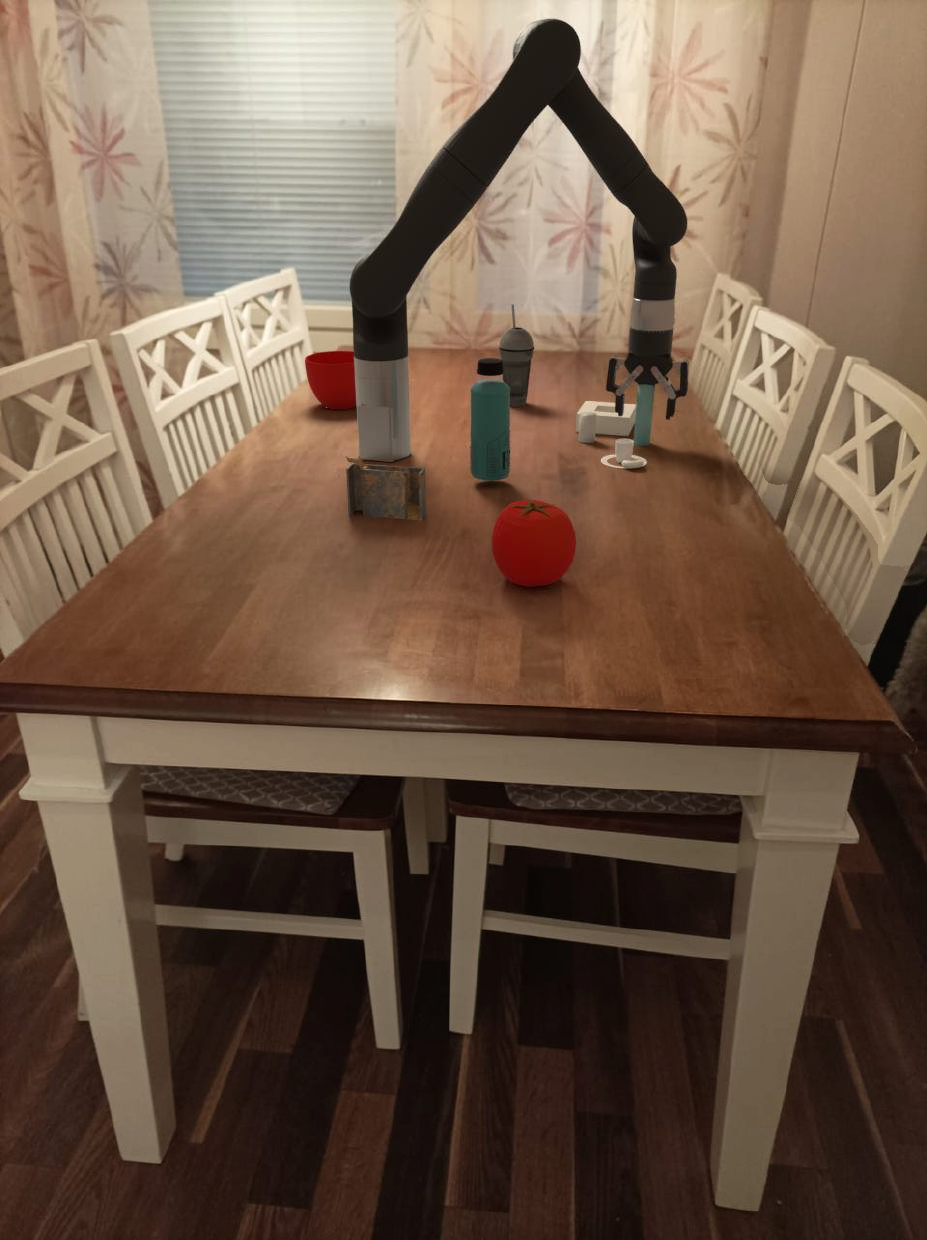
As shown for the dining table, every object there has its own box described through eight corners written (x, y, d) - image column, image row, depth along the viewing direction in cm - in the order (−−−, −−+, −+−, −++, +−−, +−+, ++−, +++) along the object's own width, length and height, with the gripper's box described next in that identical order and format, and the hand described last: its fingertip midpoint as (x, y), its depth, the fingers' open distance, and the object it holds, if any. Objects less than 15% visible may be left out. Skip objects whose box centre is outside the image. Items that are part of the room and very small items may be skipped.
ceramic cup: (386, 414, 195) (384, 364, 190) (303, 414, 195) (299, 364, 190) (392, 398, 206) (390, 350, 201) (313, 397, 206) (310, 350, 202)
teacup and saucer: (645, 474, 162) (647, 450, 160) (598, 471, 164) (599, 448, 162) (647, 458, 170) (649, 435, 168) (602, 455, 171) (603, 433, 169)
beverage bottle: (506, 491, 153) (508, 364, 144) (465, 488, 155) (465, 362, 145) (512, 478, 159) (515, 355, 150) (473, 475, 160) (473, 353, 151)
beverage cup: (519, 410, 197) (522, 309, 188) (491, 404, 201) (492, 305, 192) (539, 403, 202) (542, 304, 193) (510, 397, 206) (512, 300, 197)
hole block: (628, 436, 180) (629, 417, 179) (575, 431, 183) (576, 413, 181) (635, 422, 189) (636, 404, 187) (584, 418, 191) (585, 400, 190)
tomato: (522, 557, 130) (524, 481, 125) (588, 578, 124) (593, 499, 119) (473, 583, 123) (473, 503, 118) (541, 606, 117) (544, 523, 112)
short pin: (593, 443, 176) (594, 416, 174) (577, 442, 177) (578, 415, 175) (595, 439, 179) (597, 412, 176) (580, 437, 180) (581, 411, 177)
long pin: (648, 446, 174) (654, 386, 169) (632, 445, 175) (637, 384, 170) (650, 441, 177) (656, 382, 172) (634, 440, 178) (639, 381, 173)
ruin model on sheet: (348, 518, 144) (344, 456, 140) (354, 511, 147) (350, 449, 142) (421, 524, 142) (419, 460, 138) (426, 517, 145) (424, 454, 140)
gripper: (607, 326, 165) (601, 419, 173) (691, 330, 161) (682, 425, 169) (614, 319, 171) (608, 409, 179) (695, 322, 168) (686, 414, 175)
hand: (644, 417), depth 174 cm, fingers open, 8 cm apart
